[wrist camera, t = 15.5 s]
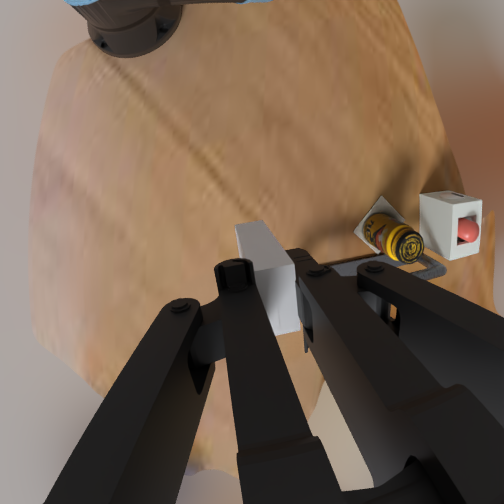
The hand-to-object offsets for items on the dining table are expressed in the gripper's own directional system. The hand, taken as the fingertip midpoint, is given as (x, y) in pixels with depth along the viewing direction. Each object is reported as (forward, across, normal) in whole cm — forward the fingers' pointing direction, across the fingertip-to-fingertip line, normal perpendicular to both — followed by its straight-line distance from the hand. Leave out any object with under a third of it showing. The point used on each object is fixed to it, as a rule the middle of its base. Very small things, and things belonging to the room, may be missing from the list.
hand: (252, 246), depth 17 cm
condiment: (+35, +27, -12) cm, 45 cm away
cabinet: (+34, +40, -12) cm, 54 cm away
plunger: (+32, +40, -12) cm, 52 cm away
